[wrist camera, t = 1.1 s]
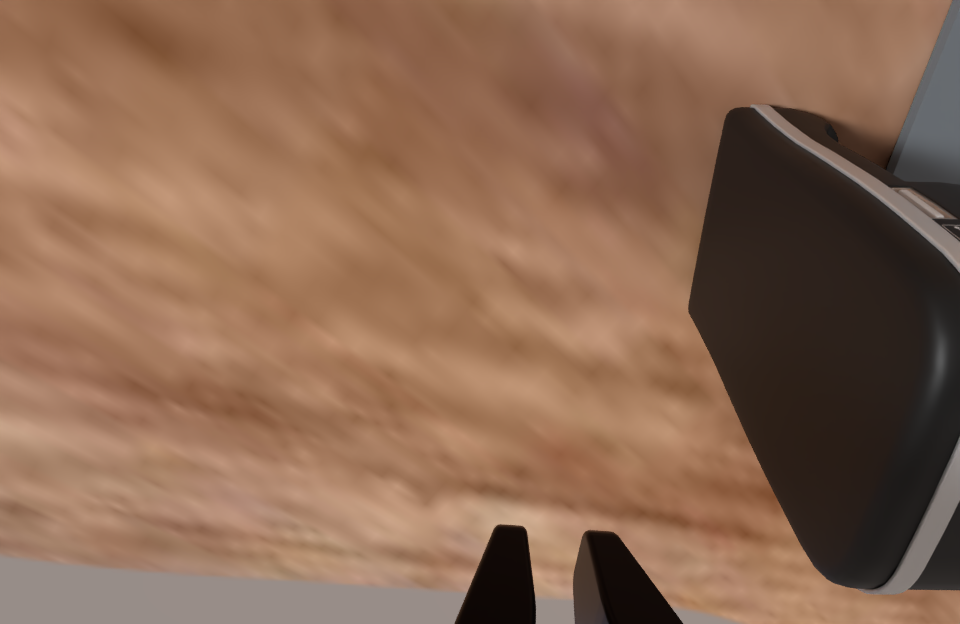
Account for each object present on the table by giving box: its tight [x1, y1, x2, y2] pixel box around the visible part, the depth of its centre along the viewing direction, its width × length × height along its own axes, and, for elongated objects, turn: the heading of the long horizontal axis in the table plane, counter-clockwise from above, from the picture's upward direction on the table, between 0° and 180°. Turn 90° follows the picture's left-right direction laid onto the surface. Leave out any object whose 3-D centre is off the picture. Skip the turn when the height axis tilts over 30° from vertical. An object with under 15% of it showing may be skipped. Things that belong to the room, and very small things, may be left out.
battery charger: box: [688, 104, 960, 594], centre depth 16 cm, size 7×4×11 cm, turn 179°
